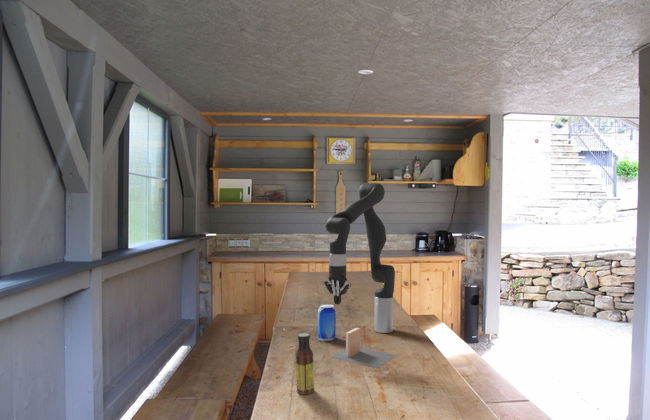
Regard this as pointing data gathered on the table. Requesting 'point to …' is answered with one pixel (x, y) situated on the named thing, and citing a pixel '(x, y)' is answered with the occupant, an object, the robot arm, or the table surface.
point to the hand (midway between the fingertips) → (337, 304)
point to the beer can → (326, 322)
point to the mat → (366, 357)
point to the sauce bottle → (304, 366)
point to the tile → (352, 342)
